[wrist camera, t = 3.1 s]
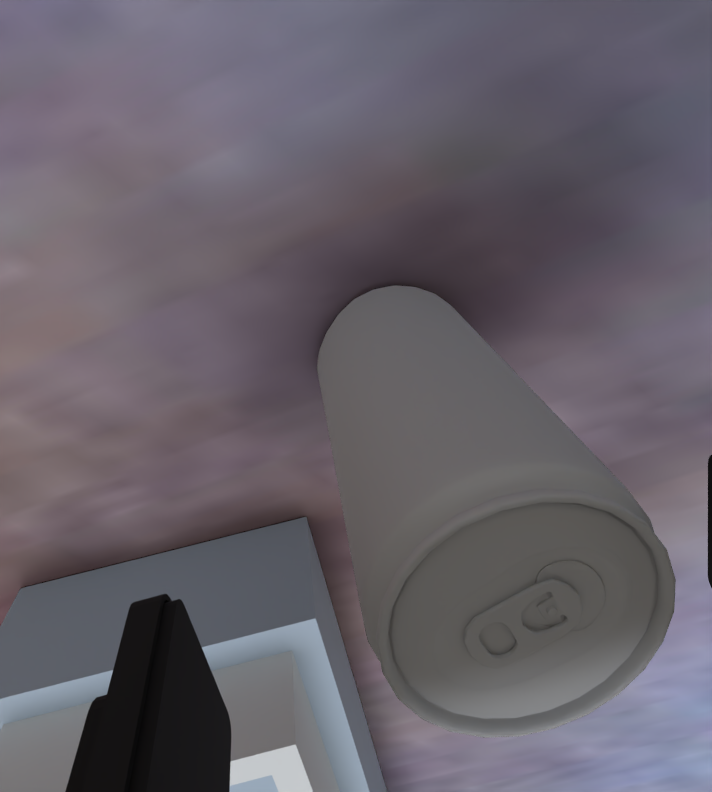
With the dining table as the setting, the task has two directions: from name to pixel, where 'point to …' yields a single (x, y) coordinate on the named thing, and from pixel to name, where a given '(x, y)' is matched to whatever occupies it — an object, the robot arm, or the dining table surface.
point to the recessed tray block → (224, 650)
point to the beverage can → (481, 527)
